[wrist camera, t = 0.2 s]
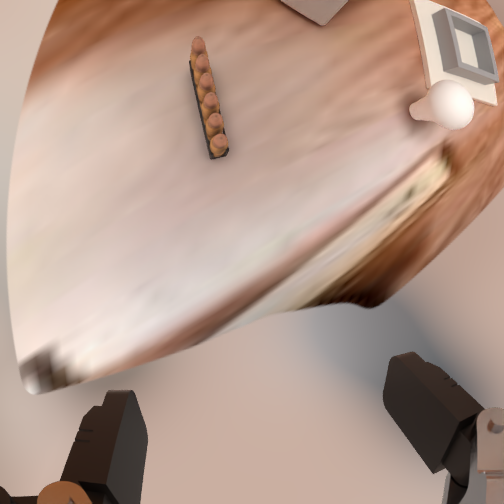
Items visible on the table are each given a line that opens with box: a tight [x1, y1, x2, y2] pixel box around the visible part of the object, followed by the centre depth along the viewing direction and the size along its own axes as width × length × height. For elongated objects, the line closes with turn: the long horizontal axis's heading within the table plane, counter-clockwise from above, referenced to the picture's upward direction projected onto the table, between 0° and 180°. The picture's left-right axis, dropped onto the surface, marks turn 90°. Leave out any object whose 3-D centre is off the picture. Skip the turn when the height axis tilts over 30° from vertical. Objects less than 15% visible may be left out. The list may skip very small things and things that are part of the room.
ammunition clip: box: [189, 36, 229, 160], centre depth 28 cm, size 11×2×12 cm, turn 13°
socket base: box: [409, 0, 499, 106], centre depth 32 cm, size 16×16×5 cm
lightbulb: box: [409, 80, 474, 130], centre depth 31 cm, size 6×6×11 cm
